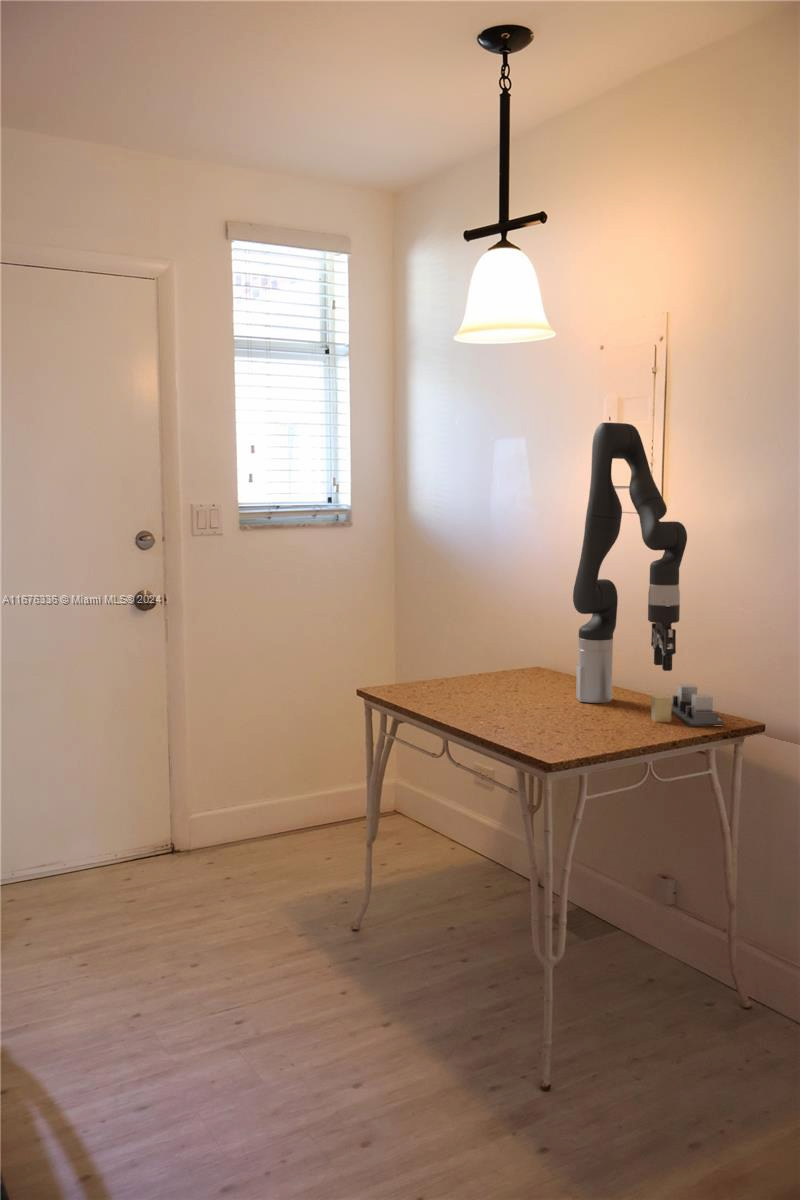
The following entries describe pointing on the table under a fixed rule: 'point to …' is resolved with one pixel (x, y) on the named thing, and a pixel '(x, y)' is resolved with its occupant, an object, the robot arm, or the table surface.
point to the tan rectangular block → (661, 708)
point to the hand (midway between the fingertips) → (662, 667)
